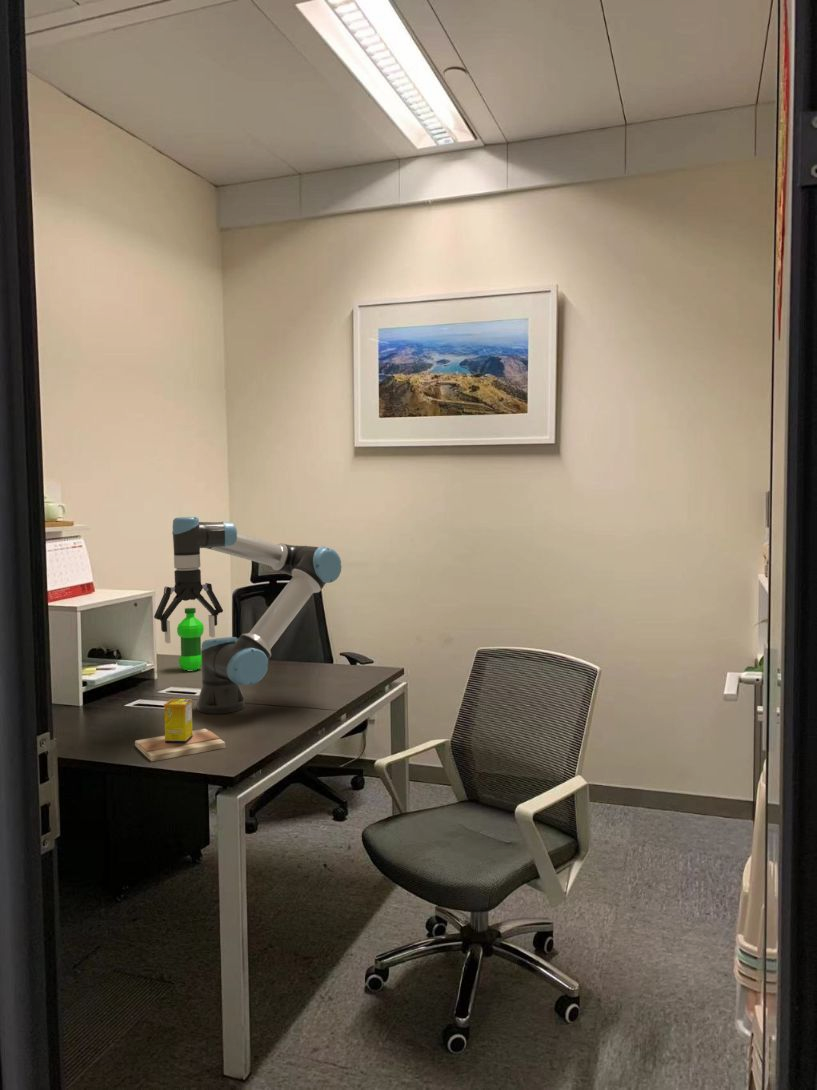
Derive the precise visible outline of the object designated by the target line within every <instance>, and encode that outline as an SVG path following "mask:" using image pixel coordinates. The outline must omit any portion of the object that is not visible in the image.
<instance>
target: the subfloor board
mask: <svg viewBox="0 0 817 1090" xmlns="http://www.w3.org/2000/svg"><path fill="white" fill-rule="evenodd" d="M192 732H193V737H192V738H191V739H190V740H189V741H188V742H187V743H165V735H160V736H156V737H155V736H153V737H149V738H142V739H137V740H135V741H134V746H135V748H137V750H139V751H140V752H141V753H142V754H143V755H144V757H146V758H147V759H148V760H149V761H150V762H152V763H153V762H157V761H162V760H167V759H173V758H179V757H185V756H188V755H193V754H194V755H195V754H200V753H205V752H210V751H215V750H221V749H226V742H225V740H222V739H221V737H220V736H218V735H216V734H215V733H214V732H212V731H211V730H209V729H207V728H200V729H196V730H192Z"/></svg>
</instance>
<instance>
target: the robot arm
mask: <svg viewBox="0 0 817 1090" xmlns="http://www.w3.org/2000/svg"><path fill="white" fill-rule="evenodd" d="M171 534H172V543H173V545H172V546H173V567H174V569H175V570H174V587H172V586H171V587H169V586H165V587H163V595H162V597H161V600H160V602H159V605H158V606H157V609H156V611H155V614H154V616H153V618H154V619H155V620H158V621H160V628H161V629H160V630H161V632H163V633H164V642H165V643H166V644H171V625H170V623H171V621H170V620H168V619H169V618H170V616H171V615H172V613H174V611H175V609H176V608H177V607H178V606H179V604H180V603H181V602H182V601H184V602H186V601H187V602H188V601H195V600H197V601H198V602H199V603H200V604H201V605H202V606H203V607H204V608H205V609H206V610H207V611H208V613H210V614H208V635H209V637H211V639H206V640H205V639H204V641H202V642H201V655H202V666H201V682H202V683H201V689H200V692H199V696H198V698H197V703H196V704H197V705H196V708H197V709H196V710H197V712H200V713H202V714H203V713H204V714H214V715H215V714H216V715H217V714H226V713H227V714H228V713H229V714H230V713H234V712H237V711H241V710H243V709H244V708H245V706H246V705H245V702H246V701H245V697H244V695H243V692H242V689H241V686H251V685H252V686H253V685H255V684H257V683H259V682H260V681H261V680H262V679H263V678H264V677H265V676H266V674H267V672H268V668H269V666H268V665H269V660H270V658H271V657H272V652H271V649H272V647H273V646H274V645H275V644H276V643H277V641H278V640H279V639H280V637H281V636H282V635H283V633H284V632H285V630H286V629H287V628H288V626H289V625H290V624H291V622H293V620H294V619H295V618H296V616H297V615H298V613H299V612H300V611H301V610H302V608H303V607H304V606H305V605H306V603H307V602H308V601H309V599H310V598H311V596H312V595H313V594H316V593H320V592H321V590H322V589H323V588H324V586H326V584H330V583H333V582H335V581H336V580H337V579H338V578H339V577H340V575H341V572H342V568H343V567H342V560H341V557H340V556H339V553H337V551H336V550H335V549H333V548H331V547H326V546H310V545H309V546H308V545H292V544H291V545H290V544H286V543H282V542H281V543H278V544H275V543H272V542H269V541H265V540H262V539H258V538H255V537H251V536H248V535H245V534H242V533H238V531H237V527H236V525H235V524H234V523H233V522H231V521H221V522H220V521H219V522H214V521H213V522H211V521H209V522H208V521H199V517H197V516H180V517H175V518H174V519H173V520H172V533H171ZM201 549H208V550H211V551H216V552H219V553H223V554H227V555H230V556H234V557H236V558H240V559H245V560H247V561H252V562H255V563H259V564H263V565H266V566H269V567H271V568H272V570H274V571H277V572H281V573H284V574H286V575H288V576H291V579H289V581H288V583H287V584H286V585H285V586H284V588H283V589H282V590H281V591H280V593H279V594H278V595H277V597H276V598H275V599H274V600H273V602H272V603H271V604H270V606H268V608H267V609H266V611H265V612H264V614H262V615H261V617H260V618H259V620H257V622H256V623H255V625H254V626H253V627H252V628H251V630H250V631H249V632H247V633H242V634H241V635H240V636H239V637H236V636H227V637H226V636H225V637H219V638H218V637H217V638H216V629H215V627H216V626H218V616H219V614H222V613H223V612H224V610H223V608H222V605H221V603H220V602H219V600H218V598H217V596H216V595H215V593H214V591H213V585H212V583H209V582H205V584H202V575H201V573H202V570H201V569H199V568H201ZM202 590H203V591H205V592H206V594H207V596H208V598H209V600H210V601H211V604H212V605H211V604H210V603H209V601H207V600H206V599H205V597H204V596H203V595H202V594H201V592H202ZM173 593H175V594H176V595H175V596H174V597H173V600H172V601H171V603H170V604H169V605H168V602H169V600H170V597H171V595H172V594H173ZM167 605H168V606H167ZM166 607H167V608H166Z"/></svg>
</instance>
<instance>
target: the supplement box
mask: <svg viewBox="0 0 817 1090" xmlns="http://www.w3.org/2000/svg"><path fill="white" fill-rule="evenodd" d="M163 709H164V711H163V712H164V714H163V715H164V736H165V743H187V742H188V741H189V740H190V739H191V738H192V737H193V732H192V731H193V700H192V699H191V698H171V699H170V700H168V701H167V702H165V703H163Z"/></svg>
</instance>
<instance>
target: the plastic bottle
mask: <svg viewBox="0 0 817 1090" xmlns="http://www.w3.org/2000/svg"><path fill="white" fill-rule="evenodd" d="M184 614H185V616H186V617H185V618H183V619H182V620H181V622H180V623H178V625H177V630H176V631H177V632H176V633H177V636H179V637H180V657H179V659H178V665H179V667H180V668H181V669H182V670H183V671H185V670H197V669H198V670H199V669H200V668H202V655H201V648H202V638H201V637H202V636H203V634H204V629H205V627H204V624H203V622H202V621H201V620H200V619H198V618H197V617H195V614H196V608H195V607H186V608H184ZM198 670H197V671H198Z"/></svg>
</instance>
